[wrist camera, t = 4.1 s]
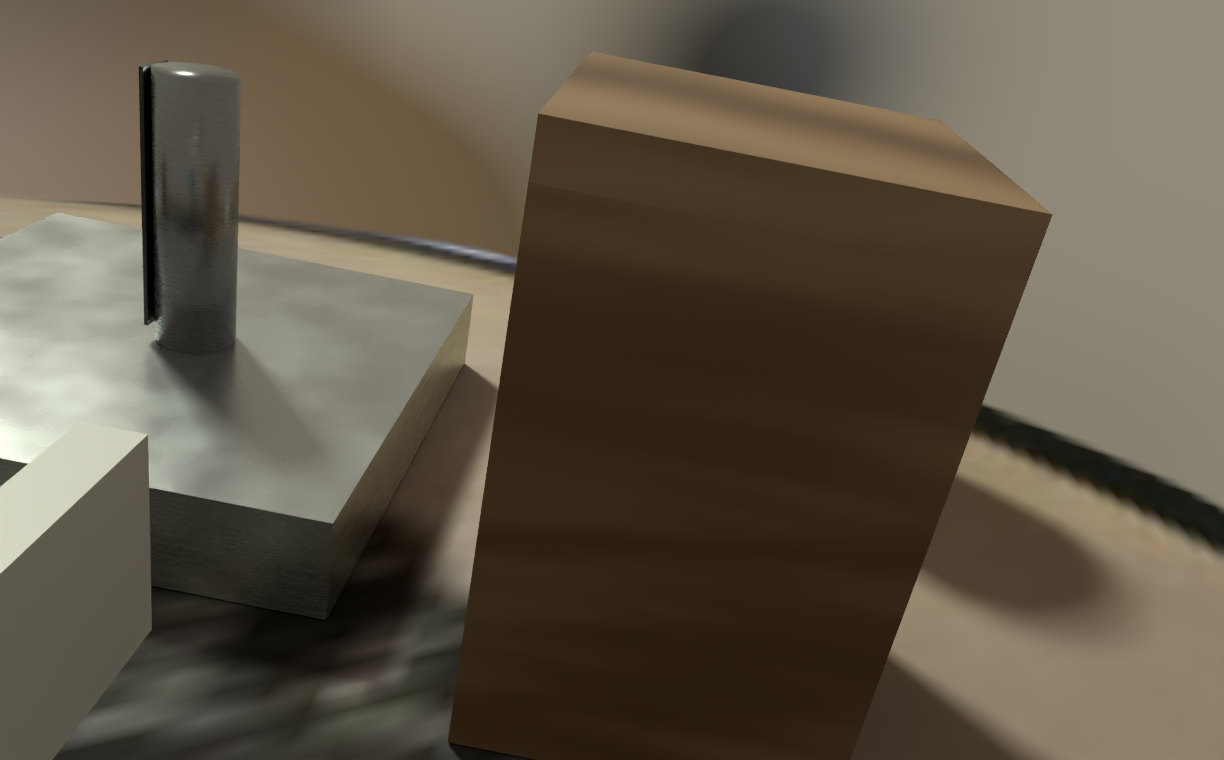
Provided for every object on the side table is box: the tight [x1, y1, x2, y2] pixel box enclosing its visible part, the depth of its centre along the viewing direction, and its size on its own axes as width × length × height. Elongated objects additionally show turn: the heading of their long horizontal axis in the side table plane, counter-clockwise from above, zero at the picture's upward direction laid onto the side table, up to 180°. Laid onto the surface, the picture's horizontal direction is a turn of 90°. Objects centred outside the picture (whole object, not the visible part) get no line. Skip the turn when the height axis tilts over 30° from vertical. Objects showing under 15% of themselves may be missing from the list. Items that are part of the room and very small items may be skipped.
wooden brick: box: [448, 52, 1052, 760], centre depth 20 cm, size 7×7×12 cm
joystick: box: [0, 60, 474, 620], centre depth 26 cm, size 14×14×10 cm
